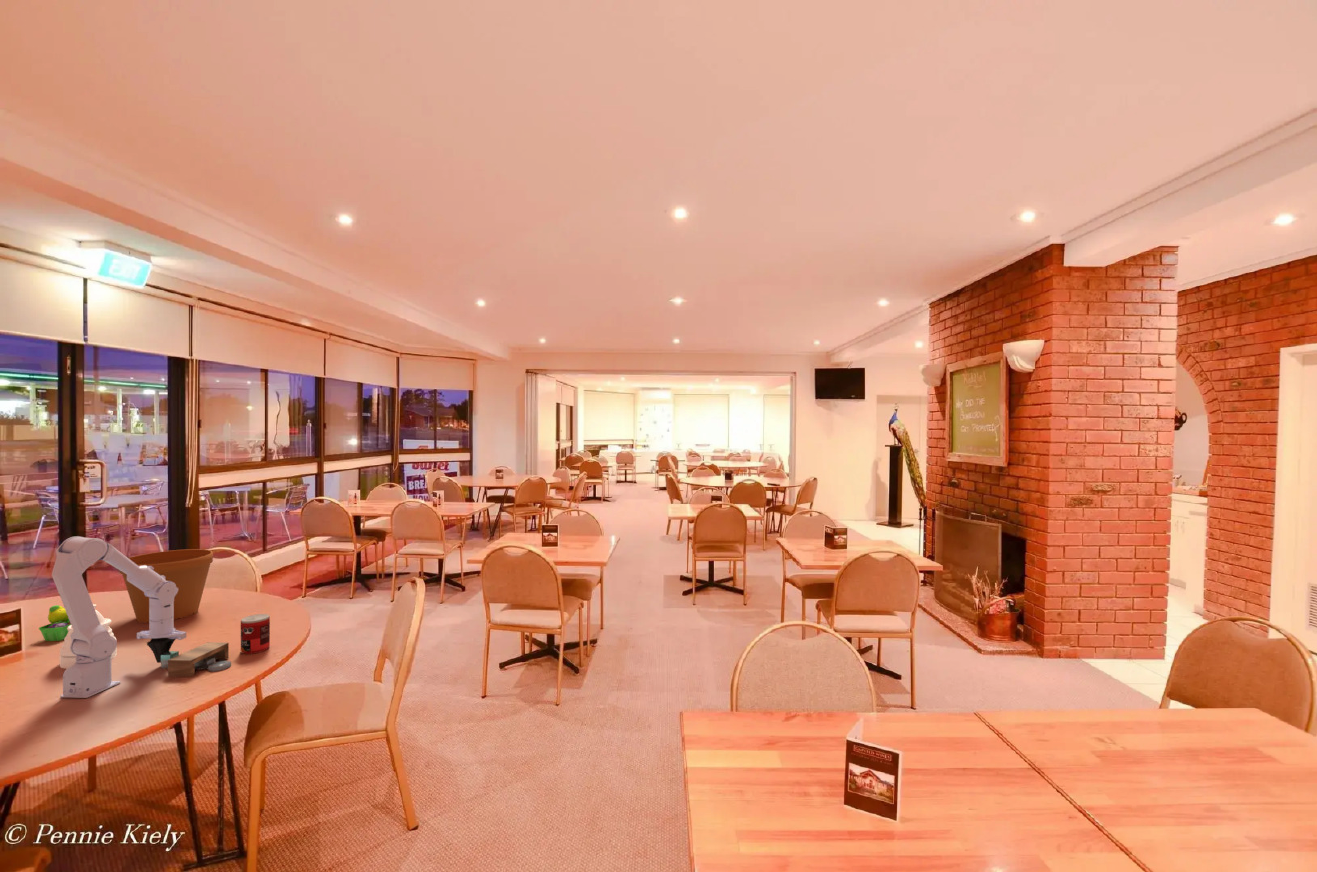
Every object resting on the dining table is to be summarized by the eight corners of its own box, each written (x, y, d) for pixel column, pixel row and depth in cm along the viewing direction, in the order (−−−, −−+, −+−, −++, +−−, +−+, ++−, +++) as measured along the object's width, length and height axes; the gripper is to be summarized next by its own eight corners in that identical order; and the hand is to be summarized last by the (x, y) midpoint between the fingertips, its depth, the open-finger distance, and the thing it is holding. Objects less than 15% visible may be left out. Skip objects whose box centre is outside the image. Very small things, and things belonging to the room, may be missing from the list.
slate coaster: (220, 672, 170) (220, 668, 170) (203, 671, 171) (203, 667, 171) (235, 664, 176) (235, 661, 176) (219, 664, 177) (219, 660, 177)
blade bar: (207, 669, 172) (207, 655, 172) (160, 668, 173) (160, 654, 173) (215, 665, 175) (215, 652, 175) (169, 664, 176) (169, 651, 176)
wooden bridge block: (190, 676, 167) (190, 660, 167) (168, 676, 167) (168, 659, 167) (228, 657, 181) (228, 642, 181) (207, 657, 181) (207, 642, 181)
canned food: (238, 649, 188) (238, 617, 187) (267, 643, 193) (267, 612, 193) (242, 656, 182) (242, 623, 182) (271, 649, 188) (271, 617, 188)
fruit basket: (59, 642, 194) (58, 610, 193) (33, 642, 193) (33, 610, 193) (92, 630, 205) (92, 600, 205) (68, 630, 205) (67, 600, 205)
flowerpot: (115, 632, 203) (114, 568, 202) (124, 613, 224) (124, 555, 224) (213, 616, 220) (212, 558, 220) (212, 599, 242) (212, 546, 242)
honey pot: (122, 657, 181) (122, 602, 181) (66, 671, 170) (66, 613, 170) (108, 649, 188) (108, 596, 187) (54, 662, 177) (53, 606, 176)
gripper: (194, 614, 178) (195, 656, 178) (151, 613, 179) (151, 655, 179) (174, 622, 171) (174, 665, 171) (129, 621, 172) (130, 664, 172)
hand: (161, 661), depth 175 cm, fingers closed
